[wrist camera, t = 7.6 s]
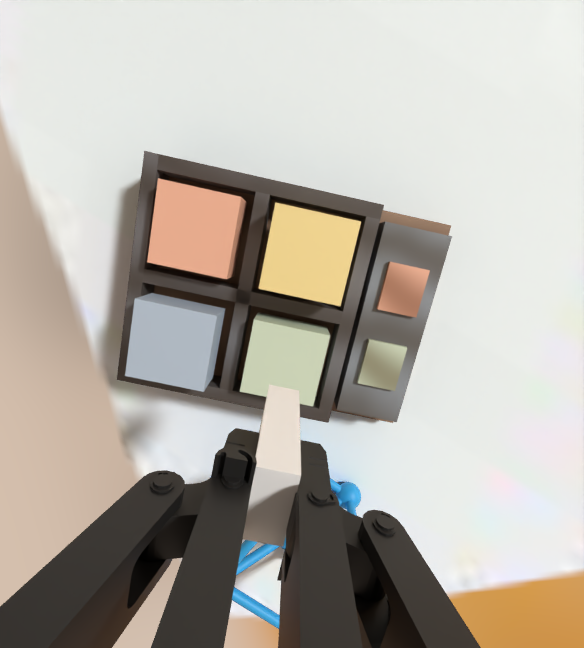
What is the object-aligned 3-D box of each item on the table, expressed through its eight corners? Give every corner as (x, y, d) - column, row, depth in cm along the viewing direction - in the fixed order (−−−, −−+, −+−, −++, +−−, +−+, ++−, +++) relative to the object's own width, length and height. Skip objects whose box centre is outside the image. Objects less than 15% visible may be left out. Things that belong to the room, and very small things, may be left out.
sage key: (258, 312, 29) (253, 319, 26) (326, 326, 29) (330, 335, 26) (245, 377, 30) (239, 391, 27) (311, 390, 30) (313, 406, 27)
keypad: (165, 164, 29) (144, 151, 25) (443, 226, 30) (465, 223, 26) (138, 363, 32) (116, 379, 28) (388, 415, 33) (400, 437, 29)
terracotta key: (173, 185, 27) (158, 178, 24) (247, 202, 27) (241, 196, 24) (162, 260, 28) (147, 262, 25) (233, 276, 28) (226, 279, 25)
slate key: (152, 293, 27) (134, 298, 24) (225, 308, 27) (216, 315, 24) (142, 362, 28) (125, 375, 25) (213, 376, 29) (203, 391, 26)
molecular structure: (300, 555, 36) (301, 668, 27) (218, 502, 35) (188, 599, 25) (363, 485, 35) (390, 579, 25) (280, 427, 33) (273, 501, 24)
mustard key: (277, 207, 26) (275, 202, 23) (353, 224, 26) (361, 221, 23) (262, 284, 27) (258, 288, 24) (335, 299, 27) (340, 306, 24)
